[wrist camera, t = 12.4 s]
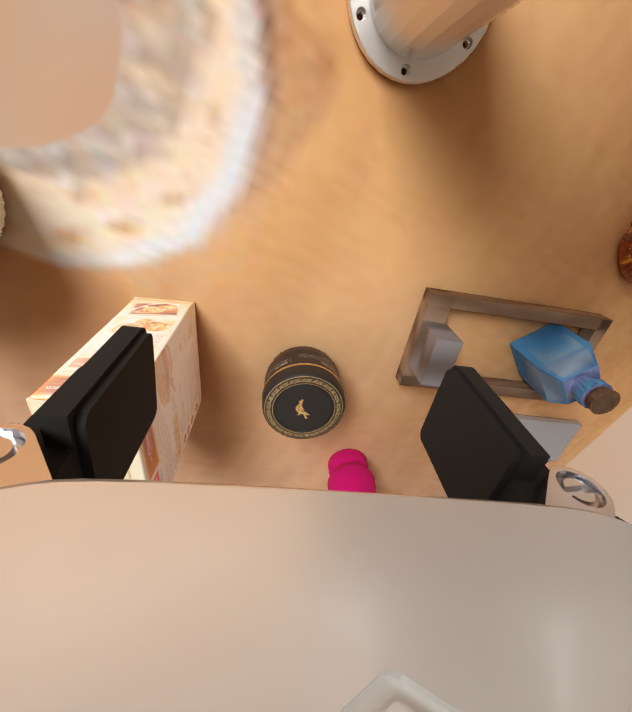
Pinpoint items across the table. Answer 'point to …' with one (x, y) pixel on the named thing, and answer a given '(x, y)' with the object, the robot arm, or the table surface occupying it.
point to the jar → (302, 393)
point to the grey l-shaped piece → (550, 432)
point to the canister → (2, 213)
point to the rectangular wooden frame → (442, 346)
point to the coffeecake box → (173, 380)
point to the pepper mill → (350, 472)
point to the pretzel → (626, 255)
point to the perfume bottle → (563, 368)
